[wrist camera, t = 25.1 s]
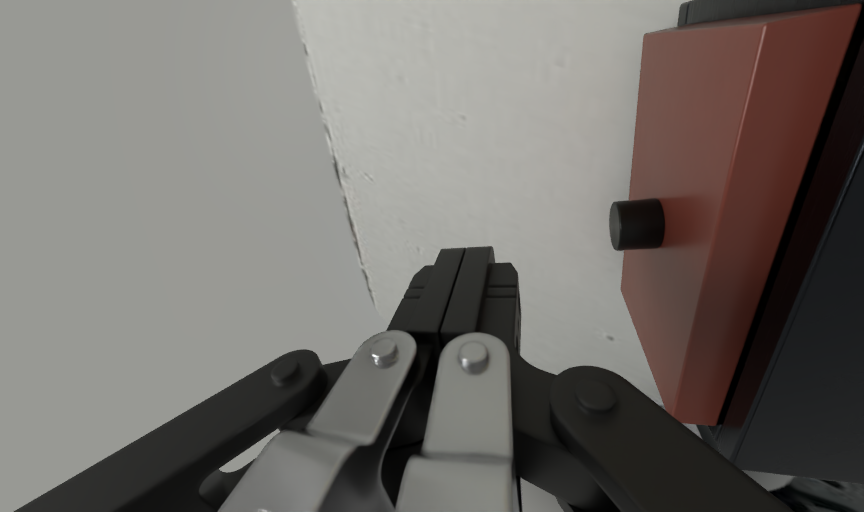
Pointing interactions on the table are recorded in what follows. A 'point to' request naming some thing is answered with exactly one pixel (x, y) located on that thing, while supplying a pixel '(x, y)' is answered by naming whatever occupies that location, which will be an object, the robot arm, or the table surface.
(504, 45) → the table surface
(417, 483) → the robot arm
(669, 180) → the cabinet drawer
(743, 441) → the drawer cabinet
